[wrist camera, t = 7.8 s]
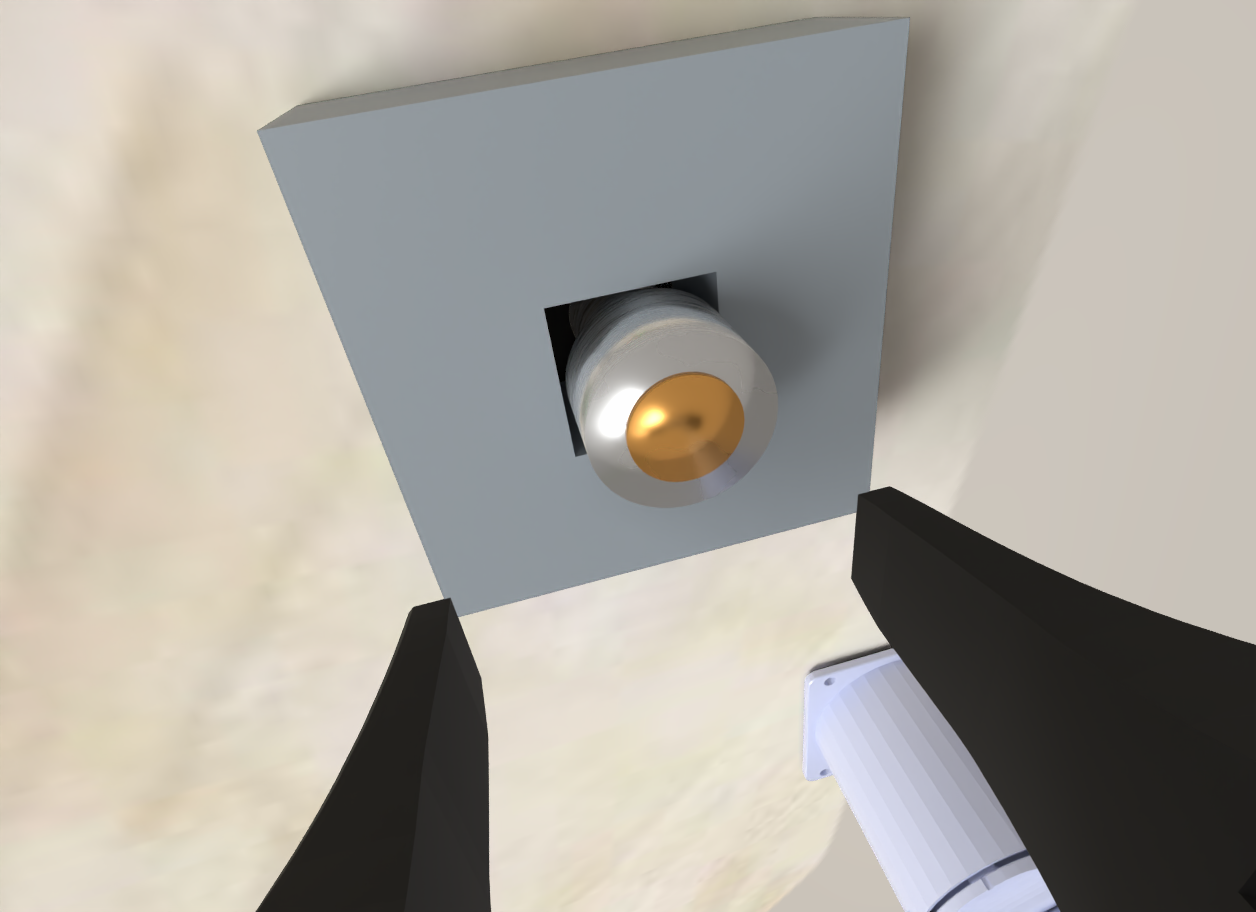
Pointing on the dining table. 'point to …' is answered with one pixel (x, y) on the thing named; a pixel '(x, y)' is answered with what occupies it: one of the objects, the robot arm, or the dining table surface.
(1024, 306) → the dining table surface
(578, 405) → the pin
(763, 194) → the block
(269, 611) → the dining table surface
